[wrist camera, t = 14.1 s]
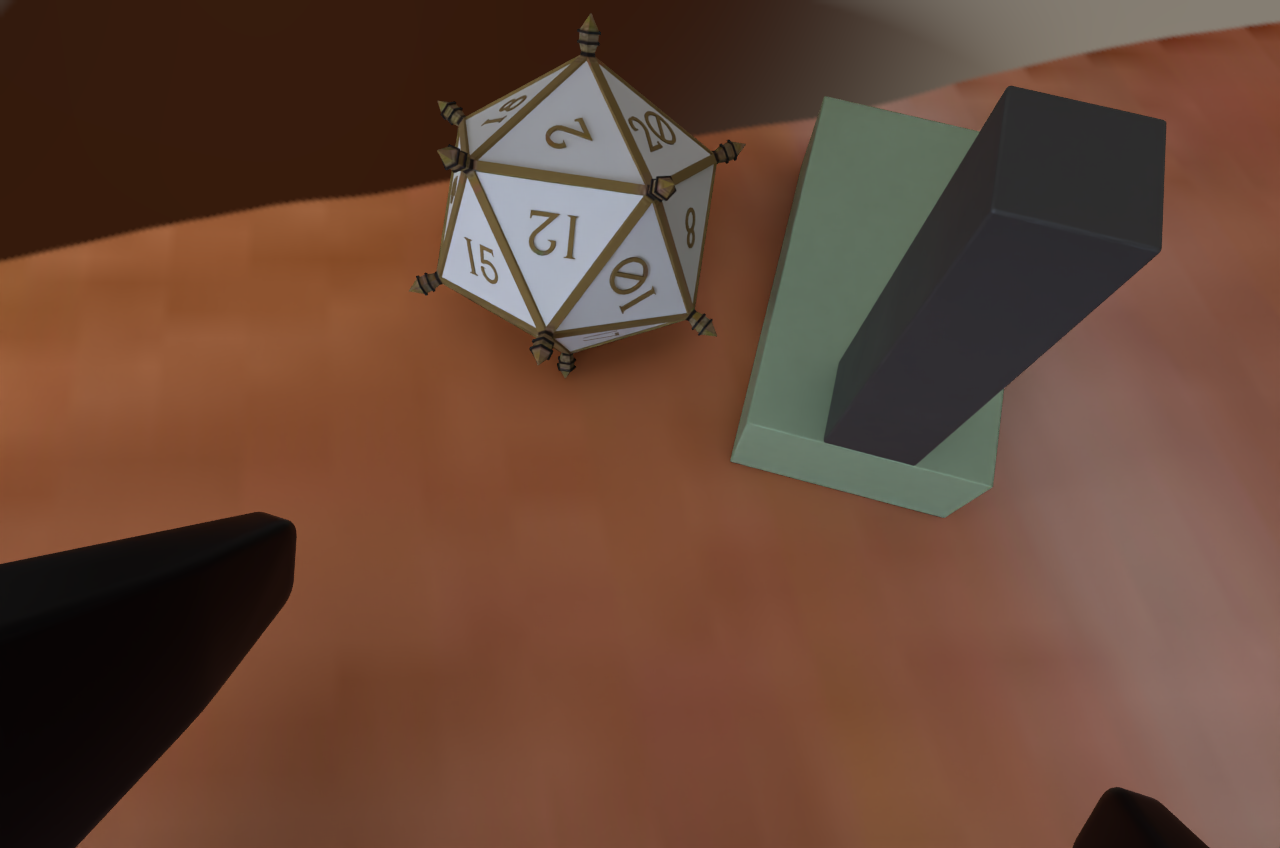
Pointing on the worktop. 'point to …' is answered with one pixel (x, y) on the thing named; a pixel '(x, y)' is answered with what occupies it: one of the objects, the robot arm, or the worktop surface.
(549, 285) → the game die
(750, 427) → the two-tone post fixture
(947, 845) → the worktop surface
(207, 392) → the worktop surface
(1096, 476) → the worktop surface
